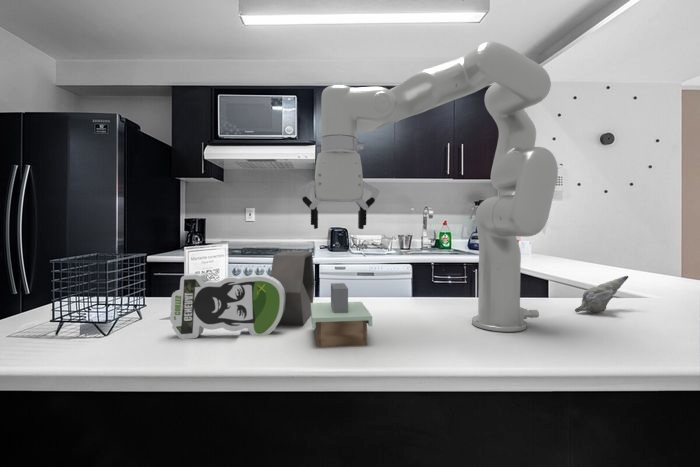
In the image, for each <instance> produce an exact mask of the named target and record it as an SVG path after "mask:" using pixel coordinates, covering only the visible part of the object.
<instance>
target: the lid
mask: <svg viewBox="0 0 700 467" xmlns="http://www.w3.org/2000/svg"><path fill="white" fill-rule="evenodd" d="M310 318H311V325H312V326H311V327H312V329H315V328H316V322H335V321H365V320H367V326H369V327H372V326H373V316H372V314H371V313H370V312H369V310H368V309H367V307H366V305H364V303H363V302H362V301H349V288H348V287H347V285H346V284H345V283H344V282H336V283H334V282H333V283H330V302H313V303H311V316H310Z"/></svg>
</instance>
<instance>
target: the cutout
mask: <svg viewBox="0 0 700 467" xmlns="http://www.w3.org/2000/svg"><path fill="white" fill-rule="evenodd" d="M285 297H286V296H285V290H284V288H283V286H282V284H281V283H280V282H279V281H278V280H277V279H275V278H273V277H270V275H266V274H256V275H245V276H238V275H233V276H232V275H231V276H228V277H226V278H223V279H222V280H220V279H219V280H216V279H214V280H213V279H212V280H209V278H208V277H207V276H206V274H204V273H201V272H200V273H187V274H185V275H182V276H181V277H180V282H179V289H178V290H175V291H173V292H172V294H171V298H170V299H171V300H170V315H169V321H170V323H171V324H172V326H171V327H172V329H173V331H174V332H175V334H176V335H177V337H178V338H179V339H181V340H183V339H184V340H185V339H186V340H187V339H189V340H190V339H197V338H198V337H199V336H200V335H202V334H203V333H204V330H205V329H206V330H210V331H211V330H212V331H213V330H218V329H224V330H226V331H230V332H237V331H243V330H245V329H248V333H249V334H250V335H251V336H252V335H253V336H268V335H270V334H271V333H272V332H273V331H274V330H275V328H277V326H278V325H277V324H278V323H279V321H280V320H281V318H282V316H283V313H284V309H285V300H286V298H285Z"/></svg>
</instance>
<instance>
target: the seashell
mask: <svg viewBox="0 0 700 467" xmlns="http://www.w3.org/2000/svg"><path fill="white" fill-rule="evenodd" d="M628 279H629V275H625V276H621V277H618V278H615V279H613V280H610V281H607V282H604V283H601V284H600V283H599V284H598V285H597V286H595V287H593V286H592V287H591V288H588V289H586V290H585V291H584V293H583V294H582V300H581V305H579V306H578V307H576V308H575V309H574V311H575V313H580V312H585V311H587V312H591V313H594V314H600V313H601V312H605V310H606V309H607V305H608V304H609V302H610V301H611V300H612V299H613V298H614V295H615V294H616V293H617V292H618V290H619V289H620V288H621V287H622V285H623V284H624V283H625V282H627V280H628Z"/></svg>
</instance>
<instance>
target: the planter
mask: <svg viewBox="0 0 700 467" xmlns="http://www.w3.org/2000/svg"><path fill="white" fill-rule="evenodd" d="M313 259H314V257H313V251H282V252H279V253H275V254H273V257H272V264H271V268H270V269H271V270H270V275H269V276H270V277H273V278H275V279H277V280H278V281H279V282H280V283H281V284H282V286H283V288H284V290H285V296H286V297H285V298H286V300H285V309H284V313H283V316H282V318H281V320H280V321H279V323H278V324H277V326H305V325H306V324H307V321H308V320H309V319H310V318H311V303H314V297H315V296H314V294H315V285H316V284H315V283H316V282H315V272H314V269H315V268H314V260H313Z"/></svg>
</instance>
